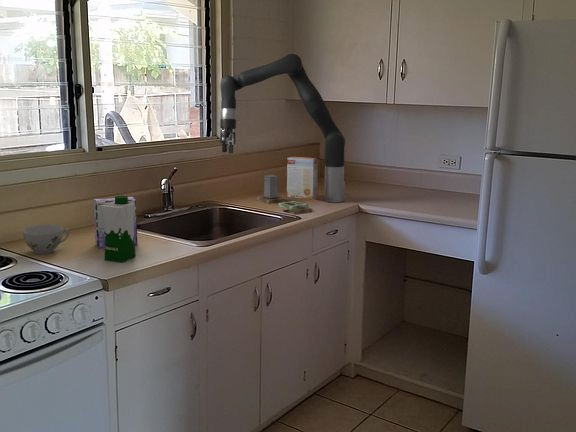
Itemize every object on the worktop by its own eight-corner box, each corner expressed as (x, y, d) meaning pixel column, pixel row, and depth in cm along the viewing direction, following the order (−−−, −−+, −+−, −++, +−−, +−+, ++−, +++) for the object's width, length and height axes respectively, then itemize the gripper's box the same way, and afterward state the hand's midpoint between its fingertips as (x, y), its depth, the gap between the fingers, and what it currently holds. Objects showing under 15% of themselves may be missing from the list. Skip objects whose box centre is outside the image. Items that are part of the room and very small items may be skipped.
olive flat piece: (271, 200, 297) (271, 194, 297) (311, 211, 274) (311, 205, 274) (254, 203, 291) (254, 196, 291) (294, 214, 268) (294, 207, 268)
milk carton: (139, 256, 201) (137, 196, 197) (122, 264, 193) (120, 201, 188) (117, 253, 204) (114, 194, 200) (99, 260, 196) (96, 199, 192)
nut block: (271, 199, 293) (272, 174, 290) (277, 201, 289) (277, 176, 286) (264, 200, 290) (264, 175, 287) (269, 202, 286) (270, 176, 284)
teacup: (32, 259, 196) (30, 235, 194) (18, 251, 205) (16, 227, 203) (77, 251, 206) (76, 228, 204) (62, 243, 215) (61, 221, 213)
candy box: (97, 248, 210) (94, 201, 206) (95, 244, 215) (92, 198, 211) (138, 245, 215) (136, 199, 212) (135, 241, 220) (133, 196, 217)
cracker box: (317, 200, 301) (318, 157, 297) (312, 202, 296) (313, 159, 291) (291, 197, 307) (292, 155, 302) (286, 199, 301) (287, 157, 297)
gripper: (230, 117, 284) (229, 152, 285) (240, 120, 298) (240, 153, 299) (215, 117, 286) (214, 152, 287) (226, 120, 300) (225, 153, 301)
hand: (227, 152), depth 293 cm, fingers open, 8 cm apart
